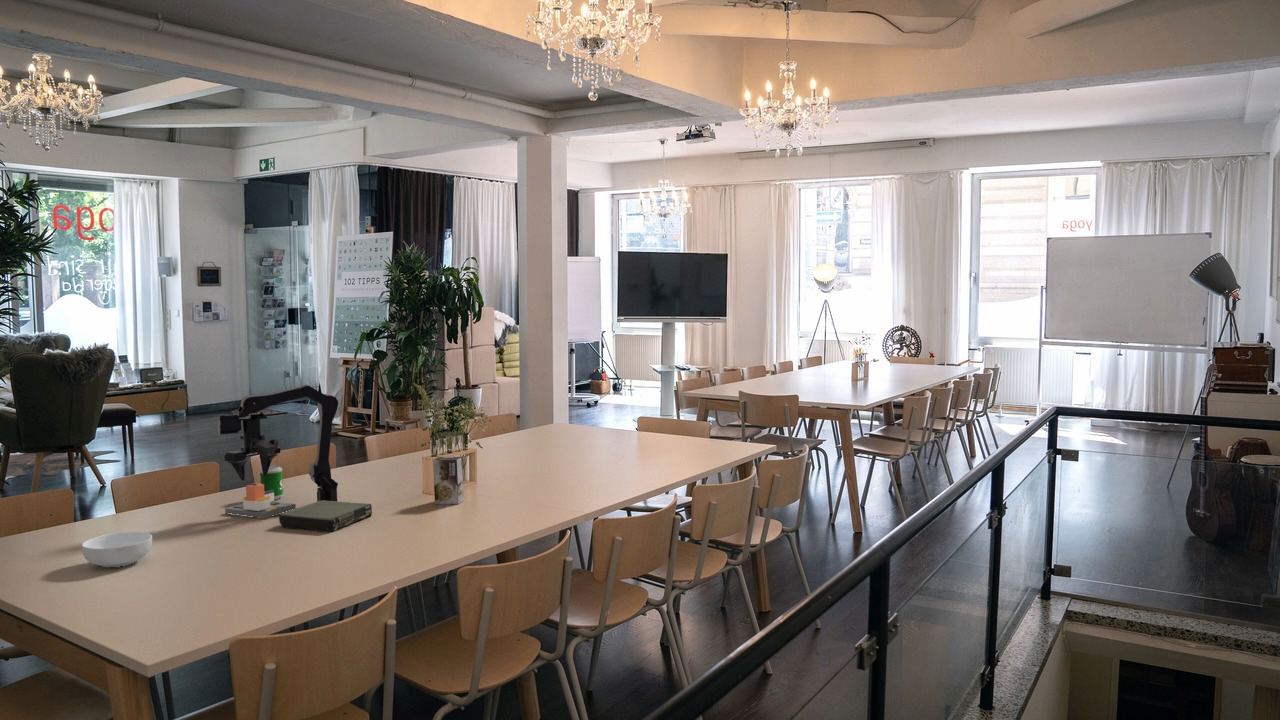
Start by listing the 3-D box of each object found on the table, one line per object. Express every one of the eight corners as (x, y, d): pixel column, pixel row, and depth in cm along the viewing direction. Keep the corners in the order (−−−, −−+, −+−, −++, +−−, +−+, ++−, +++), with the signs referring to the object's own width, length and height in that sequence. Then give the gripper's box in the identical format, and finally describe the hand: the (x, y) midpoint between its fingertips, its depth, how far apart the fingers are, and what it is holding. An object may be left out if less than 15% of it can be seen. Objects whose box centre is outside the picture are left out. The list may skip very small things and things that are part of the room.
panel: (295, 509, 305) (295, 502, 305) (263, 519, 293) (263, 511, 292) (258, 505, 313) (258, 498, 313) (225, 514, 300) (225, 506, 300)
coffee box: (464, 500, 316) (462, 456, 315) (458, 504, 310) (457, 459, 308) (439, 499, 317) (438, 456, 316) (433, 504, 310) (432, 459, 309)
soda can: (278, 501, 318) (276, 468, 318) (257, 501, 319) (256, 469, 318) (286, 496, 326) (285, 464, 325) (266, 496, 326) (265, 465, 325)
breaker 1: (270, 507, 299) (269, 496, 298) (258, 510, 294) (257, 499, 294) (255, 505, 302) (254, 494, 301) (243, 509, 297) (242, 497, 297)
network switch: (339, 534, 274) (339, 518, 274) (273, 531, 278) (272, 515, 278) (376, 515, 297) (375, 501, 296) (314, 513, 301) (313, 499, 301)
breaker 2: (274, 500, 309) (273, 489, 308) (262, 503, 304) (262, 492, 304) (260, 499, 312) (259, 488, 311) (248, 502, 307) (248, 490, 307)
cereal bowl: (74, 576, 234) (72, 550, 234) (94, 558, 250) (92, 534, 250) (144, 569, 239) (143, 544, 239) (159, 552, 255) (158, 529, 255)
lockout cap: (264, 498, 299) (263, 482, 298) (255, 501, 295) (254, 484, 295) (256, 497, 300) (255, 481, 300) (246, 500, 297) (245, 484, 296)
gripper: (246, 438, 284) (248, 485, 285) (291, 429, 301) (292, 474, 302) (222, 436, 289) (224, 482, 290) (267, 428, 306) (269, 472, 307)
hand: (254, 477), depth 297 cm, fingers open, 9 cm apart
